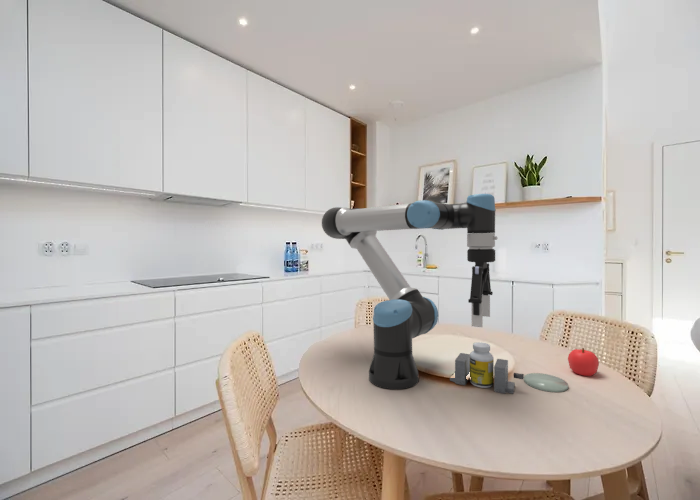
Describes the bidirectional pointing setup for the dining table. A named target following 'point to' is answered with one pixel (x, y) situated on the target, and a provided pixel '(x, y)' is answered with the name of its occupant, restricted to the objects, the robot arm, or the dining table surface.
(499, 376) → the vise
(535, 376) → the pale green round disc
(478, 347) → the pill bottle
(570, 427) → the dining table surface
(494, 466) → the dining table surface
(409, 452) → the dining table surface
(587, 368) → the apple
